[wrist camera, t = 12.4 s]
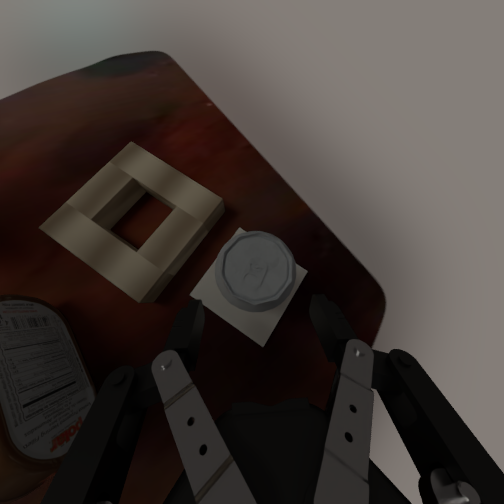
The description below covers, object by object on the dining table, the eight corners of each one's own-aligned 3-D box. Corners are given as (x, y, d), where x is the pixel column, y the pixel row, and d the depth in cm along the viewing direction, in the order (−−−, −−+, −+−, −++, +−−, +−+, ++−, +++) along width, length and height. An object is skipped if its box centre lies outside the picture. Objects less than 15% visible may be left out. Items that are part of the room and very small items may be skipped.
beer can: (276, 273, 22) (313, 244, 10) (261, 312, 20) (283, 329, 9) (239, 258, 22) (234, 212, 10) (222, 295, 21) (195, 290, 9)
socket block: (65, 237, 22) (38, 227, 19) (144, 159, 26) (131, 141, 23) (153, 302, 21) (138, 302, 18) (225, 211, 24) (222, 199, 21)
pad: (190, 294, 21) (189, 294, 21) (239, 228, 23) (239, 227, 23) (262, 346, 20) (263, 347, 20) (306, 271, 22) (307, 271, 22)
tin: (34, 306, 20) (-107, 312, 12) (63, 290, 21) (-54, 285, 13) (87, 441, 17) (-51, 567, 9) (118, 419, 18) (14, 518, 10)
